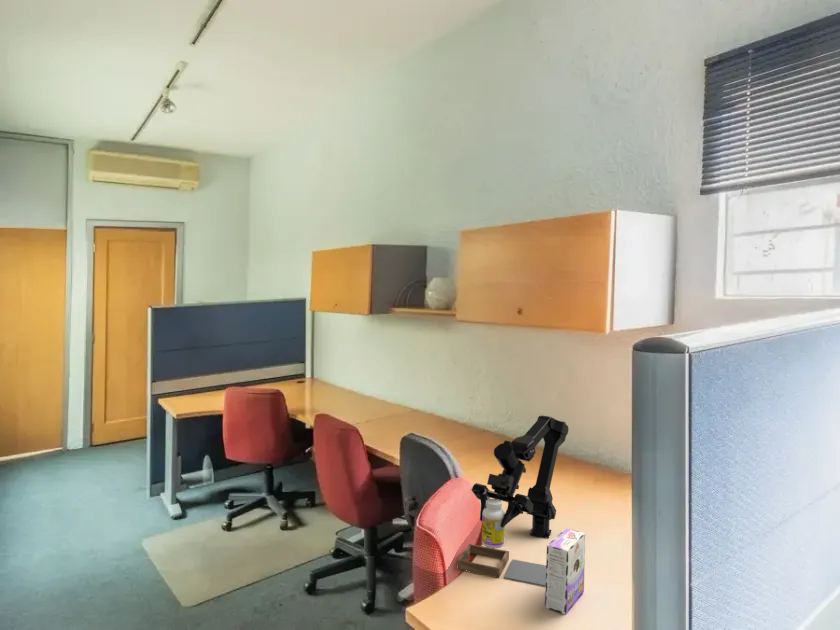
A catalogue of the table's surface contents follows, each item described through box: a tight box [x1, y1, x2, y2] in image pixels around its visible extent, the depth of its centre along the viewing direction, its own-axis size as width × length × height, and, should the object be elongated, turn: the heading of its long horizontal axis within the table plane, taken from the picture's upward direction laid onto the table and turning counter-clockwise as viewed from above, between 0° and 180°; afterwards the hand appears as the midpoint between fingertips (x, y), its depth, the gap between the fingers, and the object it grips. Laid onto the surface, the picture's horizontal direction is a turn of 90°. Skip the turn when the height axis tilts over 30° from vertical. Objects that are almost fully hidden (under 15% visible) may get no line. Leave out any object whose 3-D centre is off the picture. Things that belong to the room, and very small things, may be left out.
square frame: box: [456, 543, 510, 579], centre depth 166 cm, size 13×13×2 cm
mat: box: [503, 559, 546, 588], centre depth 161 cm, size 12×12×1 cm
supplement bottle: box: [481, 498, 506, 549], centre depth 165 cm, size 7×7×13 cm
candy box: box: [544, 528, 586, 616], centre depth 147 cm, size 14×6×16 cm, turn 145°
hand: (491, 523), depth 163 cm, fingers closed on supplement bottle, 7 cm apart
